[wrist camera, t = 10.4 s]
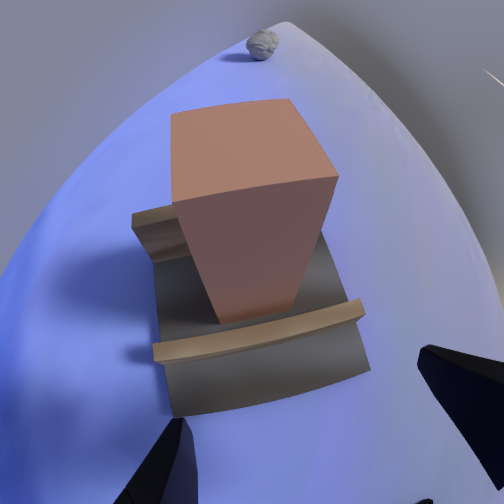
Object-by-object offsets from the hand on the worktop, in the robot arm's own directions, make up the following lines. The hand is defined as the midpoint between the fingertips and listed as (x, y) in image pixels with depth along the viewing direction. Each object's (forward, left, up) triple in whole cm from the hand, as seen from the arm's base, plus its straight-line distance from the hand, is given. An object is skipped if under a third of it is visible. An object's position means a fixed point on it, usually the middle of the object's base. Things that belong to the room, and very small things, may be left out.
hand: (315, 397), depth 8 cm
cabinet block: (+8, +1, -9) cm, 12 cm away
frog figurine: (+55, -12, -10) cm, 58 cm away
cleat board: (+6, +1, -10) cm, 12 cm away
